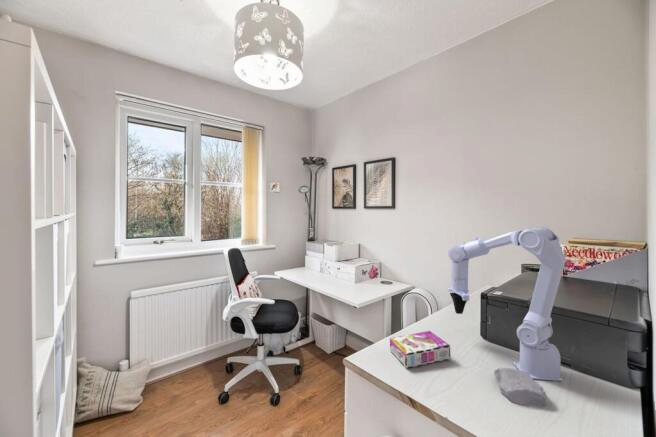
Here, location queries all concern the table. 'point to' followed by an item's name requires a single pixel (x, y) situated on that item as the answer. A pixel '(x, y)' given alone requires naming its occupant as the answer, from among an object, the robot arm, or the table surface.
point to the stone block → (520, 387)
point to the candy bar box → (419, 349)
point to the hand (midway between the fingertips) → (458, 313)
